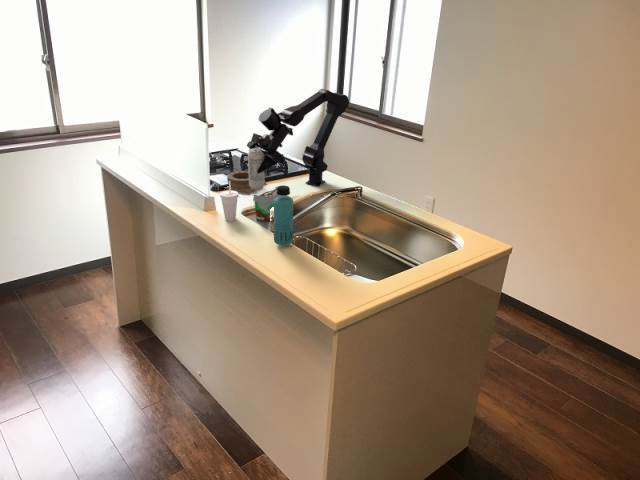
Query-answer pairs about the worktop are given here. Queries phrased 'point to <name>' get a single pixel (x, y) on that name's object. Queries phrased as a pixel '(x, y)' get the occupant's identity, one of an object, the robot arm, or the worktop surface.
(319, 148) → the robot arm
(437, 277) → the worktop surface
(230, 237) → the worktop surface
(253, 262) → the worktop surface
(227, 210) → the smoothie
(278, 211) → the beverage bottle
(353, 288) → the worktop surface
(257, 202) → the food container
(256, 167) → the energy drink can
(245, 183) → the brown round bowl
